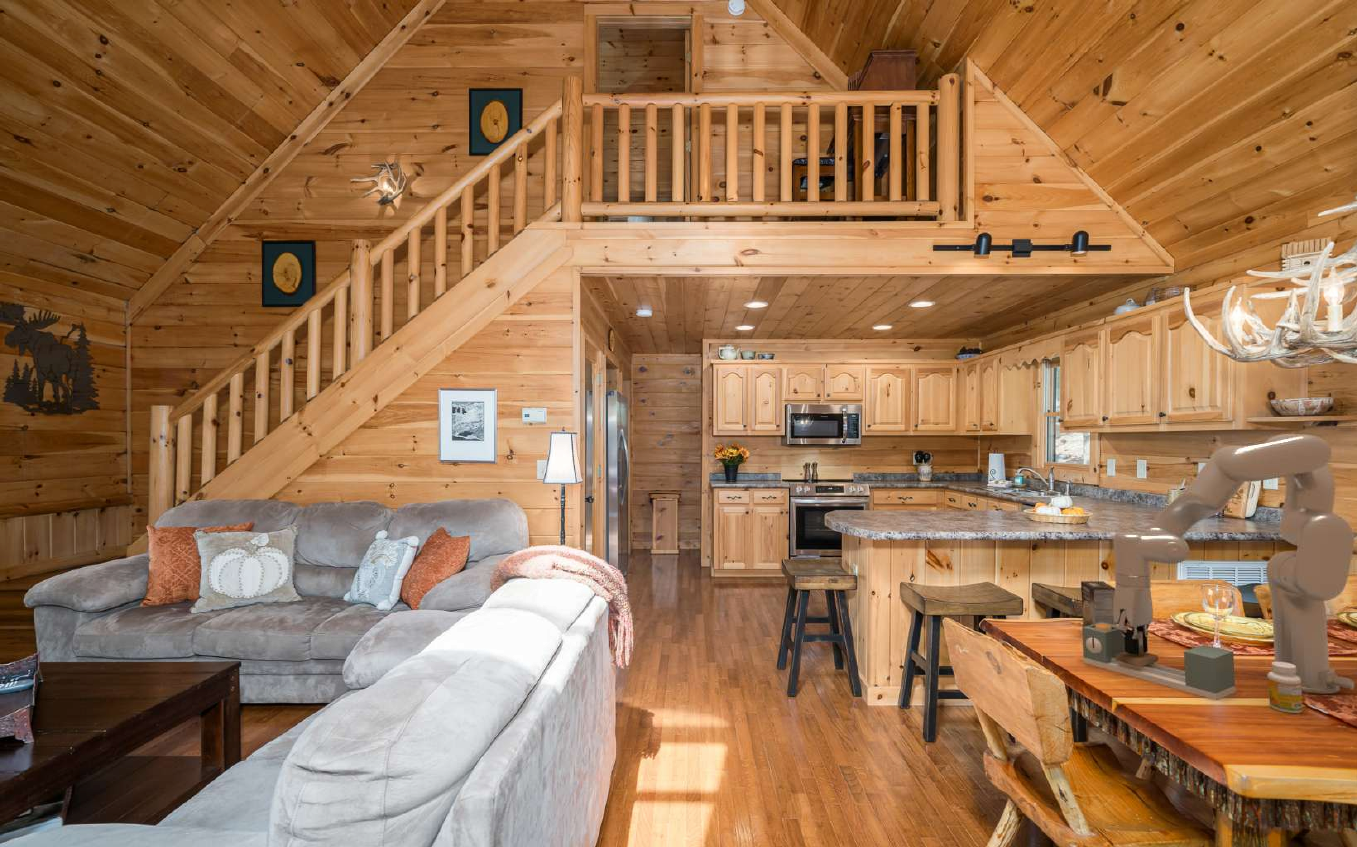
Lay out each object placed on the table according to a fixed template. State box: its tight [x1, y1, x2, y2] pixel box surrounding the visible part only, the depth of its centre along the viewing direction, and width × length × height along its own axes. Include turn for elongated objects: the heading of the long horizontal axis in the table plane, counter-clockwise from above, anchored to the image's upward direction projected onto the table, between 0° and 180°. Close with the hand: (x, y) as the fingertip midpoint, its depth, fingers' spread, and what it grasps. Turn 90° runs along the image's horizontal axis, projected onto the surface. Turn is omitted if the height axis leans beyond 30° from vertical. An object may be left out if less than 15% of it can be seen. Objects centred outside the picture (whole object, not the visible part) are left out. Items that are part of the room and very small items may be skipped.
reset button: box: [1095, 624, 1111, 631], centre depth 177 cm, size 4×4×3 cm
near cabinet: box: [1183, 644, 1236, 694], centre depth 156 cm, size 7×9×8 cm
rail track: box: [1083, 657, 1236, 701], centre depth 166 cm, size 30×9×2 cm, turn 28°
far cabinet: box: [1081, 622, 1125, 664], centre depth 176 cm, size 6×10×8 cm, turn 118°
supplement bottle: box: [1267, 661, 1304, 714], centre depth 145 cm, size 5×5×10 cm
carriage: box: [1115, 629, 1159, 667], centre depth 170 cm, size 6×8×8 cm
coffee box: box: [1080, 580, 1117, 627], centre depth 198 cm, size 9×6×16 cm
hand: (1136, 651), depth 170 cm, fingers closed on carriage, 3 cm apart
